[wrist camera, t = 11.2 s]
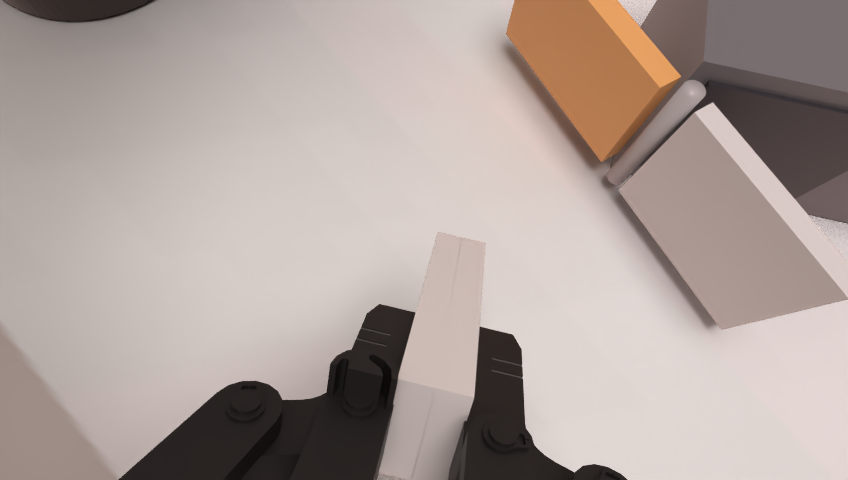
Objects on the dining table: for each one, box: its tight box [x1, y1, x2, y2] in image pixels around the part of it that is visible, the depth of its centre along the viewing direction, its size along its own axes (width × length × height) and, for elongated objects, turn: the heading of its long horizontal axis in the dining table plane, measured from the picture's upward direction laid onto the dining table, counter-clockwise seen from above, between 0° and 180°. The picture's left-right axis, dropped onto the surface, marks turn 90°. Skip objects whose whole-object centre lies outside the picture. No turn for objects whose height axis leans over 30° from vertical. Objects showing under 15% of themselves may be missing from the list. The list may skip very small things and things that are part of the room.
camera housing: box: [611, 0, 848, 223], centre depth 26 cm, size 18×9×11 cm, turn 76°
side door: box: [506, 0, 848, 330], centre depth 25 cm, size 21×1×8 cm, turn 30°
